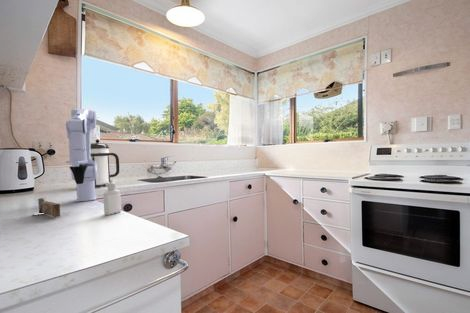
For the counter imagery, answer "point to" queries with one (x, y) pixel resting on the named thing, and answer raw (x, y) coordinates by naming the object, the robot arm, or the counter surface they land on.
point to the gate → (51, 208)
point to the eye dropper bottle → (112, 199)
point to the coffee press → (102, 162)
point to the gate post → (40, 204)
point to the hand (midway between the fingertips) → (79, 183)
